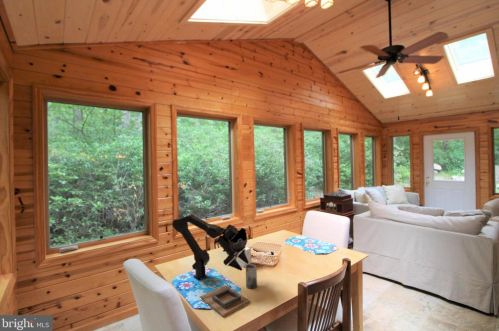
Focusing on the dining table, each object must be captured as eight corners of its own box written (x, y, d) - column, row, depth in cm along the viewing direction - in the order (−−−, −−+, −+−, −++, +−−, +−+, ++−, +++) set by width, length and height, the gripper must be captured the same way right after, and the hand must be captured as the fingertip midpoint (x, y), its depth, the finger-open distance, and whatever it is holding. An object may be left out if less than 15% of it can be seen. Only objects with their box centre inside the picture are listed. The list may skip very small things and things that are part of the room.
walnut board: (199, 298, 126) (199, 292, 126) (225, 287, 136) (225, 281, 136) (222, 317, 111) (222, 310, 111) (249, 302, 121) (249, 296, 121)
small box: (244, 261, 170) (244, 246, 169) (251, 263, 166) (251, 247, 166) (237, 265, 163) (236, 249, 163) (243, 267, 160) (243, 251, 159)
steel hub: (243, 286, 137) (243, 266, 137) (251, 282, 141) (251, 262, 141) (251, 290, 133) (250, 269, 132) (259, 286, 136) (258, 266, 136)
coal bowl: (215, 251, 188) (215, 227, 187) (236, 245, 201) (235, 222, 201) (232, 259, 173) (231, 232, 172) (253, 251, 186) (252, 226, 186)
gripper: (227, 241, 130) (248, 264, 127) (242, 231, 148) (260, 251, 144) (215, 254, 134) (234, 277, 130) (230, 242, 151) (247, 263, 147)
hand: (245, 266), depth 138 cm, fingers open, 9 cm apart
